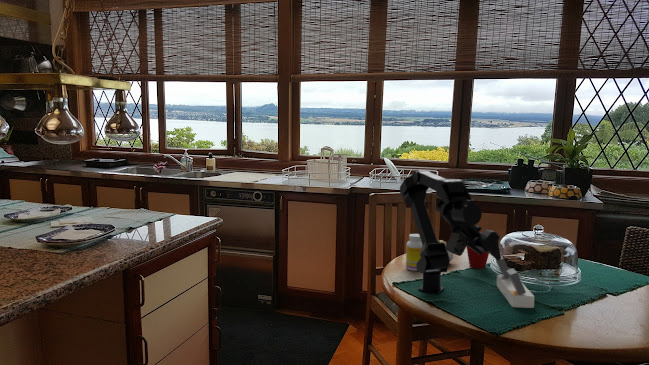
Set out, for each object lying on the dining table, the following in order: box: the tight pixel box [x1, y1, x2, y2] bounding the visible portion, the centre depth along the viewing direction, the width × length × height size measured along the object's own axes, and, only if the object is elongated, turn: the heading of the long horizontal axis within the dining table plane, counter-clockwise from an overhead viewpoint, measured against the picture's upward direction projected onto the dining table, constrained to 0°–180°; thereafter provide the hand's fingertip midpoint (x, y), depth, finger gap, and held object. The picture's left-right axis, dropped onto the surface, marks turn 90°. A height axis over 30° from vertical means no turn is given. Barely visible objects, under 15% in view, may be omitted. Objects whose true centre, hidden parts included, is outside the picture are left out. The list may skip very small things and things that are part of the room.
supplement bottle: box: [405, 233, 422, 272], centre depth 166 cm, size 7×7×13 cm
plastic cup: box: [466, 246, 490, 270], centre depth 168 cm, size 11×11×12 cm
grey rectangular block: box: [507, 267, 526, 295], centre depth 131 cm, size 2×4×7 cm, turn 173°
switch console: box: [496, 274, 535, 309], centre depth 139 cm, size 6×18×4 cm, turn 173°
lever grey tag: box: [495, 255, 510, 279], centre depth 145 cm, size 2×4×7 cm, turn 173°
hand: (490, 256), depth 134 cm, fingers open, 9 cm apart
